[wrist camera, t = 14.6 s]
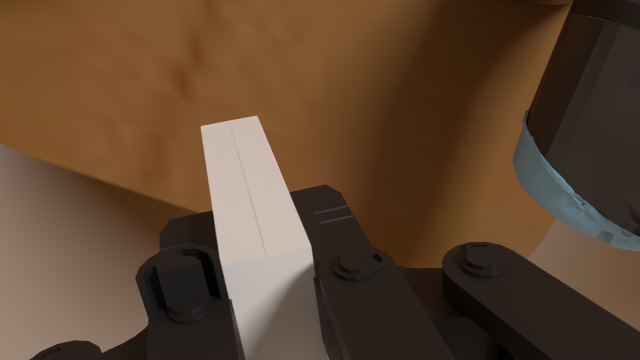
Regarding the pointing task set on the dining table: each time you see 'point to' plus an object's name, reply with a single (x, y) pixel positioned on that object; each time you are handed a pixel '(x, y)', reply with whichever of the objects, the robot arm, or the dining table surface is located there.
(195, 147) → the dining table surface
